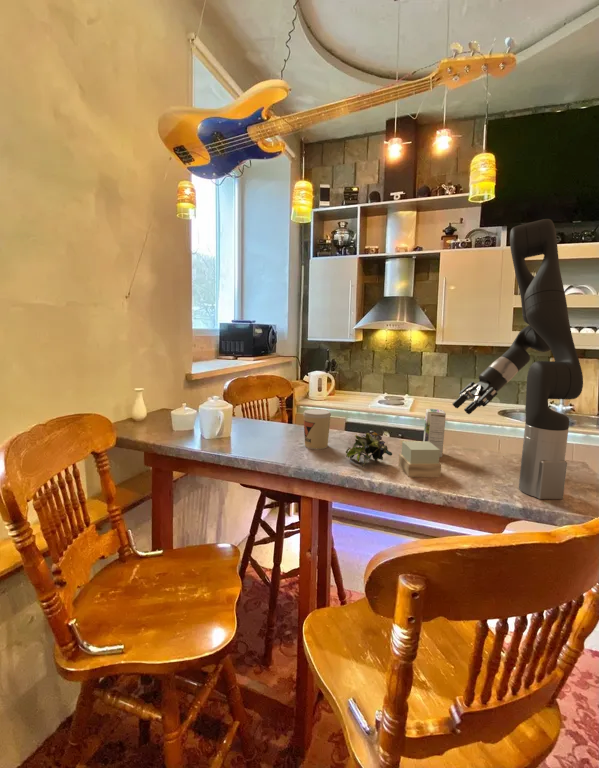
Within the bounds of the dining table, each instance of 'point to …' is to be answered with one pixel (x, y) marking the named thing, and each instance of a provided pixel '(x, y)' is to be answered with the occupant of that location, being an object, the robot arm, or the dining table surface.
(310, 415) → the coffee cup
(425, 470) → the tower base
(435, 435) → the syrup box
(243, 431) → the dining table surface
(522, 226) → the robot arm
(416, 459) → the tower top
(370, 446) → the passion flower
